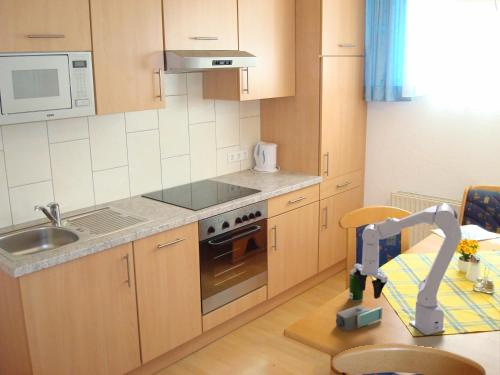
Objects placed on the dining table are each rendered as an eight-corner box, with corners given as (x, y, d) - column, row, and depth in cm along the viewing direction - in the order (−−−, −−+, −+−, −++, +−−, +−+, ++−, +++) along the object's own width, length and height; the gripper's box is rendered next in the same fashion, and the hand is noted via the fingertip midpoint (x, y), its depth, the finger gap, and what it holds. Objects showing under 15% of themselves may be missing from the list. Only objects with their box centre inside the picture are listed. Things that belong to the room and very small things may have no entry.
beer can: (355, 303, 208) (356, 274, 205) (346, 298, 212) (346, 270, 210) (366, 299, 211) (366, 271, 208) (356, 295, 215) (356, 266, 212)
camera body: (343, 332, 187) (343, 317, 185) (334, 326, 191) (334, 312, 190) (369, 322, 193) (369, 308, 192) (359, 317, 197) (359, 303, 196)
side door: (358, 328, 188) (359, 316, 187) (356, 326, 189) (356, 315, 188) (382, 319, 194) (383, 308, 193) (380, 317, 195) (380, 306, 194)
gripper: (348, 255, 195) (347, 289, 198) (377, 267, 183) (376, 304, 186) (362, 250, 199) (361, 285, 202) (392, 263, 187) (390, 299, 190)
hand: (369, 294), depth 194 cm, fingers open, 7 cm apart
